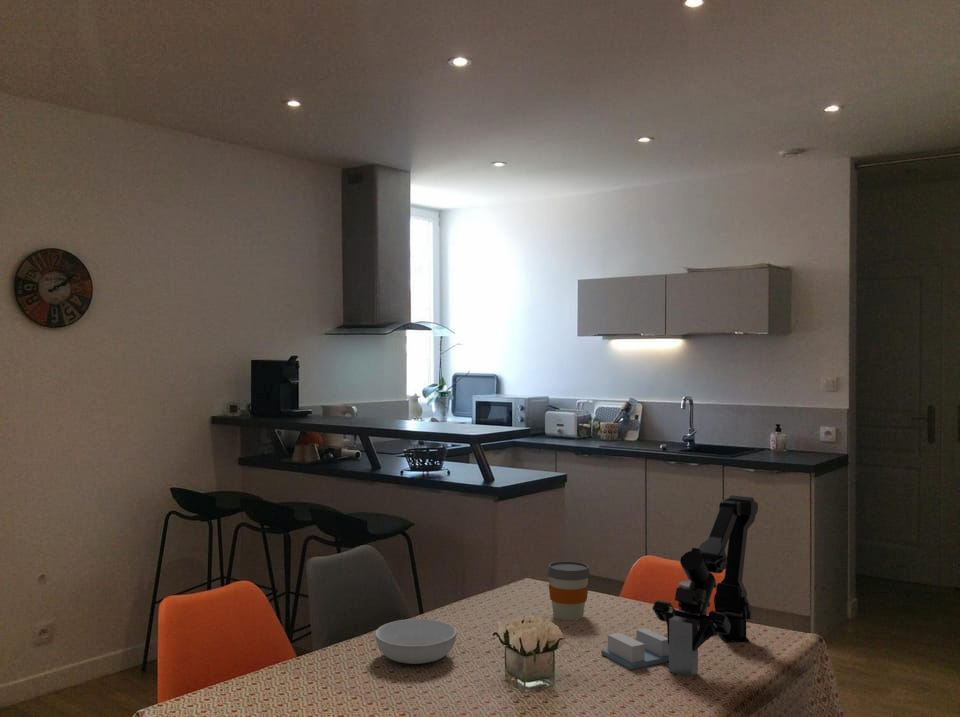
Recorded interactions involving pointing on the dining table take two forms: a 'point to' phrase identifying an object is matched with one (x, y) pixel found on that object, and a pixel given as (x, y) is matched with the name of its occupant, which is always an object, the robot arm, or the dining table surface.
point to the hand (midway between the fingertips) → (681, 647)
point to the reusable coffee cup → (568, 589)
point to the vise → (637, 649)
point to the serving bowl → (415, 640)
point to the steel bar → (683, 646)
